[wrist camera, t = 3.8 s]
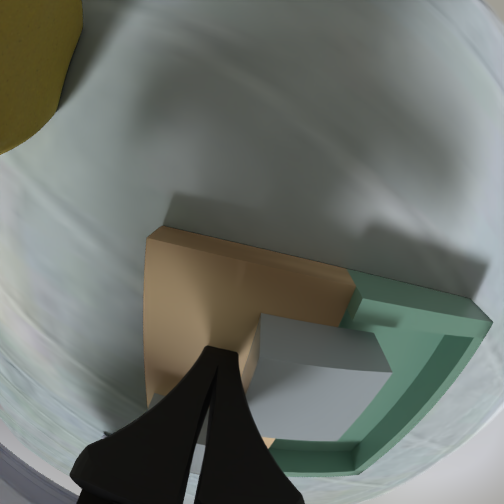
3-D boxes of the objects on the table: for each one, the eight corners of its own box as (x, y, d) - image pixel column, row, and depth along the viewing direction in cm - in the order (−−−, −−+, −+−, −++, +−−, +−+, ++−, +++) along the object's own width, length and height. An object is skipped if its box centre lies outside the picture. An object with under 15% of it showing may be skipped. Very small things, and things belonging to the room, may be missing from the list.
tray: (354, 451, 17) (358, 474, 15) (258, 448, 17) (256, 474, 15) (470, 298, 11) (493, 322, 9) (345, 268, 11) (363, 298, 9)
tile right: (329, 403, 12) (336, 441, 10) (236, 391, 12) (231, 432, 10) (373, 332, 11) (392, 372, 8) (261, 312, 10) (259, 357, 8)
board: (258, 448, 17) (257, 464, 16) (157, 425, 17) (151, 441, 15) (345, 268, 11) (356, 286, 10) (161, 225, 11) (146, 237, 10)
